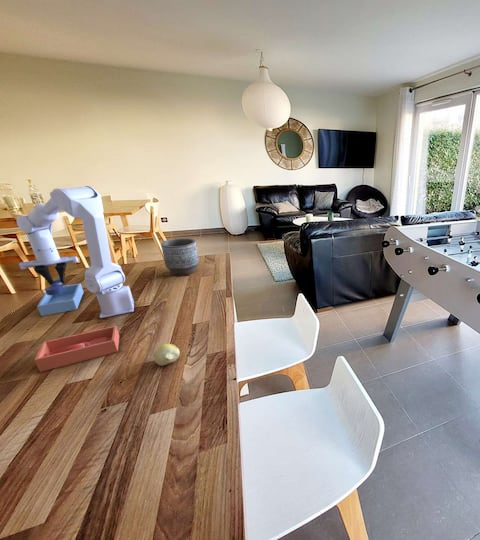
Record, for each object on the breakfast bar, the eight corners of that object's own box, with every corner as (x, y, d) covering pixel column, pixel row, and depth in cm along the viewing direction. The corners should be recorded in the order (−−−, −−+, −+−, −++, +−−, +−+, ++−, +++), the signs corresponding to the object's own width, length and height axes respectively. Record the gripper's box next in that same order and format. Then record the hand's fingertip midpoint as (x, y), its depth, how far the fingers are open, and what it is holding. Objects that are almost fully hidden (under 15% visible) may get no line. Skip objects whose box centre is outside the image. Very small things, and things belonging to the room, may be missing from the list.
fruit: (178, 346, 89) (185, 359, 81) (157, 359, 85) (163, 374, 78) (168, 332, 86) (174, 344, 79) (146, 345, 83) (150, 358, 76)
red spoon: (50, 363, 79) (47, 355, 78) (54, 354, 82) (51, 346, 81) (108, 348, 85) (106, 341, 84) (109, 340, 89) (107, 333, 88)
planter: (202, 273, 140) (197, 244, 134) (168, 279, 132) (161, 248, 126) (198, 264, 150) (193, 236, 145) (166, 268, 143) (160, 240, 137)
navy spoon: (53, 283, 109) (51, 277, 108) (69, 281, 112) (67, 274, 111) (45, 296, 100) (42, 289, 99) (62, 293, 103) (60, 287, 102)
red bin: (119, 336, 92) (116, 325, 90) (117, 351, 85) (114, 340, 83) (48, 353, 83) (43, 341, 82) (40, 372, 76) (34, 360, 75)
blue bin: (52, 297, 112) (48, 288, 110) (83, 292, 117) (80, 283, 115) (41, 316, 100) (36, 306, 98) (77, 309, 105) (73, 299, 103)
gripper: (74, 242, 109) (85, 275, 114) (18, 248, 101) (33, 283, 106) (70, 248, 103) (82, 282, 109) (11, 254, 95) (27, 290, 101)
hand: (57, 283), depth 107 cm, fingers closed on navy spoon, 2 cm apart
